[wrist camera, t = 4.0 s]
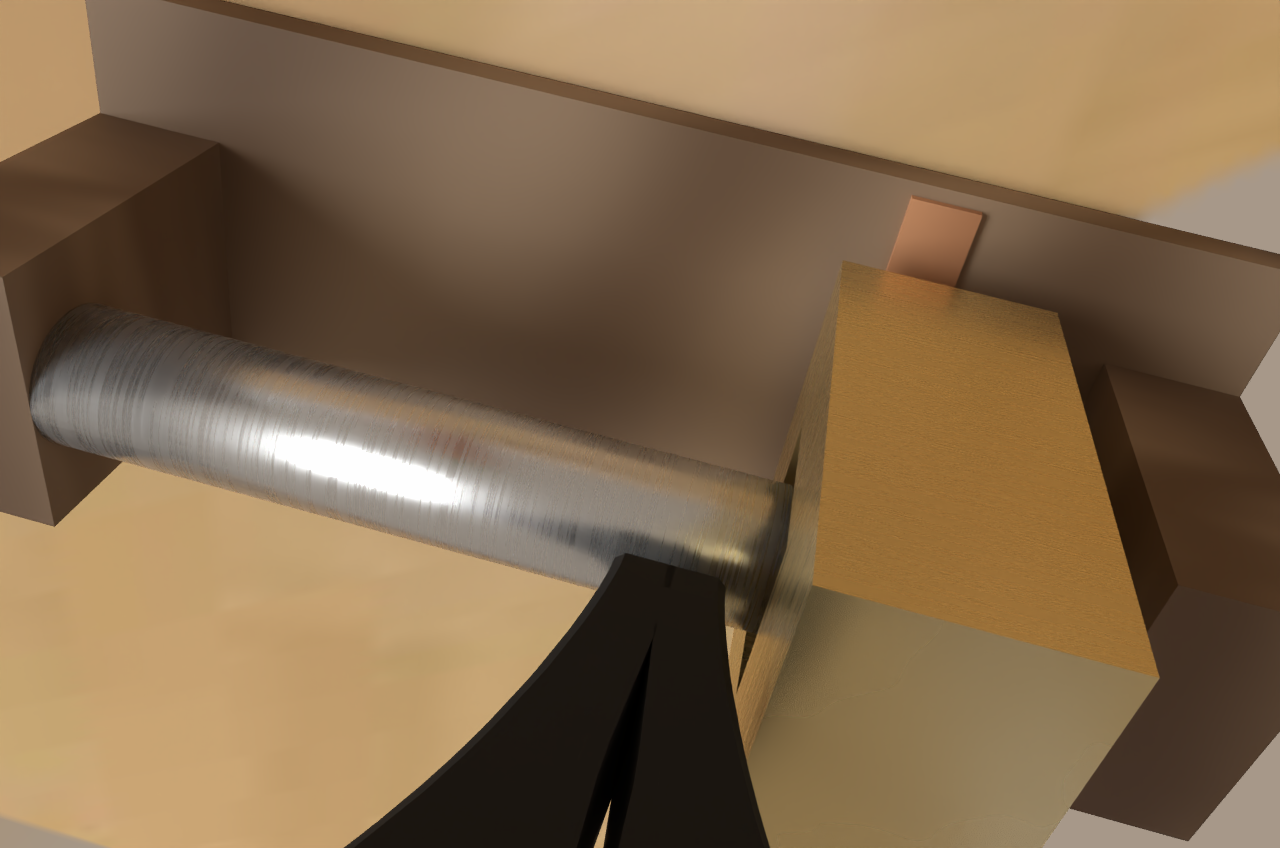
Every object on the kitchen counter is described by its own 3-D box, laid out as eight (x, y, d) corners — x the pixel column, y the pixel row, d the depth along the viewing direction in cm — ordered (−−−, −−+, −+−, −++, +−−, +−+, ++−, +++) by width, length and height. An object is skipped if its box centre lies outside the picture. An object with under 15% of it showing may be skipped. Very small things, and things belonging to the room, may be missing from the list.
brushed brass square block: (1057, 313, 14) (1159, 678, 9) (915, 616, 18) (926, 1013, 12) (842, 260, 14) (812, 585, 9) (744, 570, 18) (679, 941, 12)
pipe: (1263, 565, 14) (1319, 693, 12) (1183, 677, 15) (1223, 807, 13) (-14, 235, 15) (-140, 305, 13) (14, 364, 16) (-97, 444, 14)
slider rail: (1299, 258, 15) (1477, 493, 10) (1068, 643, 19) (1121, 921, 15) (107, -27, 16) (-202, 71, 11) (158, 400, 20) (-47, 590, 16)
